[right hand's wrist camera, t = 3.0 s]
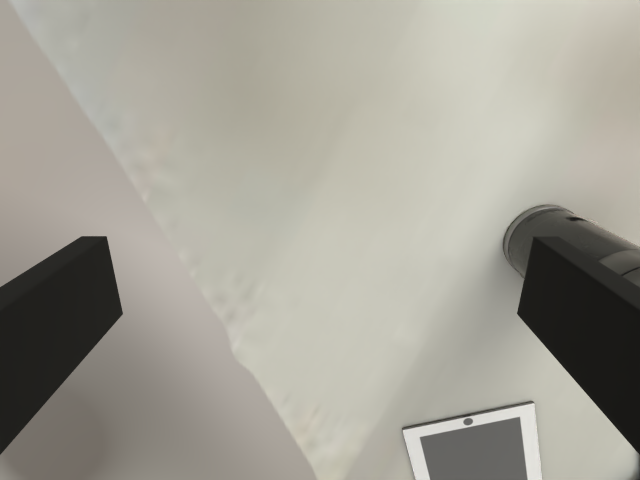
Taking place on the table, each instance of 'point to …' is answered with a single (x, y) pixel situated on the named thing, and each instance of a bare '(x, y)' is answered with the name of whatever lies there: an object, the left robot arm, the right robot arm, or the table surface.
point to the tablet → (477, 446)
